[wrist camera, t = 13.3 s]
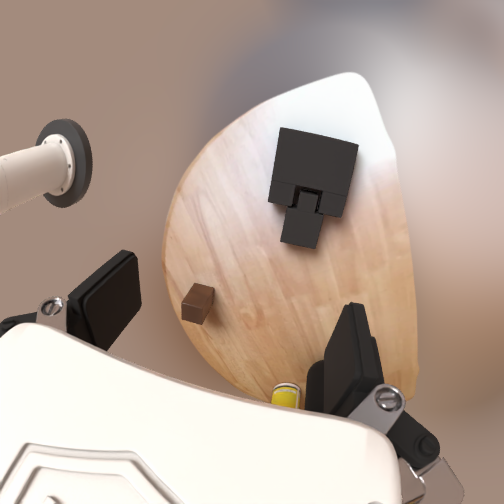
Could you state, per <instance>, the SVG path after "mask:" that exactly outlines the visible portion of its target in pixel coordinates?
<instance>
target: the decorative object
mask: <svg viewBox="0 0 504 504" xmlns="http://www.w3.org/2000/svg"><path fill="white" fill-rule="evenodd" d="M305 410H306V411H313V412H319V413H324V360H321V361H318V362H316V363H315V364H313V365H312V366H311V368H310V369H309V371H308V374H307V384H306V398H305Z"/></svg>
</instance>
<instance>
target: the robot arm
mask: <svg viewBox="0 0 504 504" xmlns="http://www.w3.org/2000/svg"><path fill="white" fill-rule="evenodd" d="M74 176H75V157H74V152H73V149H72V147H71V145H70V143H69V141H68V140H67V139H66V138H65V137H64V136H62V135H60V134H53V135H50V136H48V137H47V138H45V140H44V141H43V142H42V144H41V145H39V146H35V147H32V148H28V149H24V150H21V151H17V152H14V153H10V154H7V155H4V156H1V157H0V214H2V213H4V212H6V211H8V210H10V209H12V208H14V207H16V206H18V205H20V204H22V203H25V202H27V201H29V200H31V199H33V198H35V197H38V196H40V195H42V194H45V193H47V192H49V193H50V194H52V195H55V196H59V195H62V194H64V193H66V192H67V191H68V190H69V189H70V187H71V185H72V183H73V180H74ZM68 298H69V300H68V301H67V302H66V301H65V299H63V298H62V297H57V296H56V297H49V298H47V299H45V300H44V301H42V302H41V303H40V305H39V307H38V311H37V312H35V313H29V314H24V315H18V316H13V317H9V318H6V319H4V320H3V321H2V322H1V323H0V504H401V501H402V499H401V495H402V498H403V501H402V504H461V502H462V501H463V497H464V489H463V486H462V485H461V483H460V482H459V480H458V479H457V477H456V476H455V474H454V472H453V471H452V469H451V468H450V466H449V465H448V463H447V462H446V461H445V459H444V458H442V459H440V457H439V456H438V455H439V453H440V445H439V442H438V440H437V438H436V437H435V436H434V435H433V434H432V433H430V432H429V431H428V430H427V429H426V428H424V427H423V426H422V425H421V424H419V423H418V422H417V421H416V420H415V419H414V418H412V417H411V416H410V415H409V414H408V413H406V412H405V411H404V408H405V404H406V400H405V397H404V395H403V393H402V392H401V391H400V390H399V389H398V388H397V387H395V386H393V385H390V384H385V383H384V378H383V372H382V367H381V362H380V357H379V352H378V348H377V343H376V339H375V338H374V337H372V336H371V334H370V330H369V325H368V321H367V316H366V312H365V308H364V305H363V304H359V303H353V302H350V303H349V305H345V306H344V308H343V310H342V313H341V315H340V317H339V320H338V322H337V324H336V327H335V329H334V331H333V334H332V336H331V338H330V340H329V342H328V345H327V347H326V349H325V353H324V413H319V412H313V411H306V410H300V409H295V408H289V407H284V406H279V405H274V404H269V403H264V402H259V401H255V400H250V399H246V398H242V397H237V396H233V395H229V394H226V393H222V392H218V391H215V390H211V389H208V388H204V387H201V386H198V385H194V384H191V383H188V382H185V381H182V380H179V379H176V378H173V377H170V376H167V375H164V374H161V373H158V372H156V371H153V370H150V369H148V368H145V367H142V366H140V365H138V364H135V363H132V362H130V361H127V360H125V359H123V358H120V357H118V356H116V355H113V354H111V353H109V352H107V350H108V349H109V348H110V346H111V345H112V344H113V343H114V341H115V340H116V339H117V337H118V336H119V335H120V334H121V332H122V331H123V330H124V328H125V327H126V326H127V325H128V323H129V322H130V321H131V320H132V318H133V317H134V316H135V315H136V313H137V312H138V311H139V310H140V307H141V304H142V302H141V293H140V282H139V271H138V259H137V257H136V256H135V254H134V253H133V252H130V251H126V250H121V251H120V252H119V253H117V254H116V255H115V256H114V257H112V258H111V259H110V260H109V261H107V262H106V263H105V264H104V265H102V266H101V267H100V268H99V269H98V270H96V271H95V272H94V273H93V274H92V275H91V276H89V277H88V278H87V279H86V280H85V281H83V282H82V283H81V284H80V285H79V286H78V287H77V288H75V289H74V290H73V291H72V292H71V293H70V294H69V295H68Z"/></svg>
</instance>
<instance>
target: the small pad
mask: <svg viewBox="0 0 504 504" xmlns="http://www.w3.org/2000/svg"><path fill="white" fill-rule="evenodd" d="M317 200H318V193H317V192H314V191H310V190H305V189H300V193H299V198H298V203H297V205H296V204H292V206H291V207H290V206H287V210H286V215H285V220H284V225H283V230H282V235H281V240H280V242H284V243H289V244H293V245H298V246H303V247H307V248H312V249H315V248H316V244H317V241H318V237H319V233H320V229H321V225H322V221H323V217H324V215H323V214H322V213H319V212H318V209H316V204H317Z"/></svg>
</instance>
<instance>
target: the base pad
mask: <svg viewBox="0 0 504 504" xmlns="http://www.w3.org/2000/svg"><path fill="white" fill-rule="evenodd" d="M358 146H359V145H358V144H354V143H351V142H347V141H343V140H339V139H335V138H331V137H327V136H322V135H318V134H313V133H308V132H304V131H299V130H293V129H288V128H282V127H280V132H279V138H278V144H277V150H276V156H275V162H274V168H273V174H272V181H271V186H270V192H269V197H268V202H271V203H276V204H281V205H285V206H290V207H291V206H292V202H293V197H294V192H295V187H296V185H298V186H303V187H307V188H312V189H316V190H321V195H320V199H319V204H318V212H319V213H322V214H326V215H331V216H335V217H339V218H341V217H342V214H343V210H344V206H345V202H346V198H347V194H348V190H349V186H350V182H351V178H352V174H353V169H354V165H355V160H356V156H357V151H358Z"/></svg>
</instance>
